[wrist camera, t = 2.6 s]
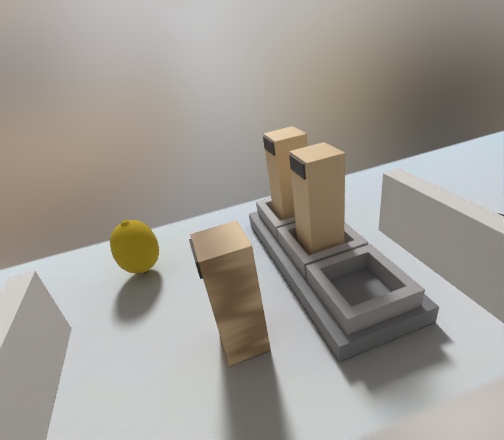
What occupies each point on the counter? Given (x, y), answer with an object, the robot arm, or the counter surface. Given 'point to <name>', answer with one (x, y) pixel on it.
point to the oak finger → (232, 289)
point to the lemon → (134, 246)
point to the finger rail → (332, 251)
